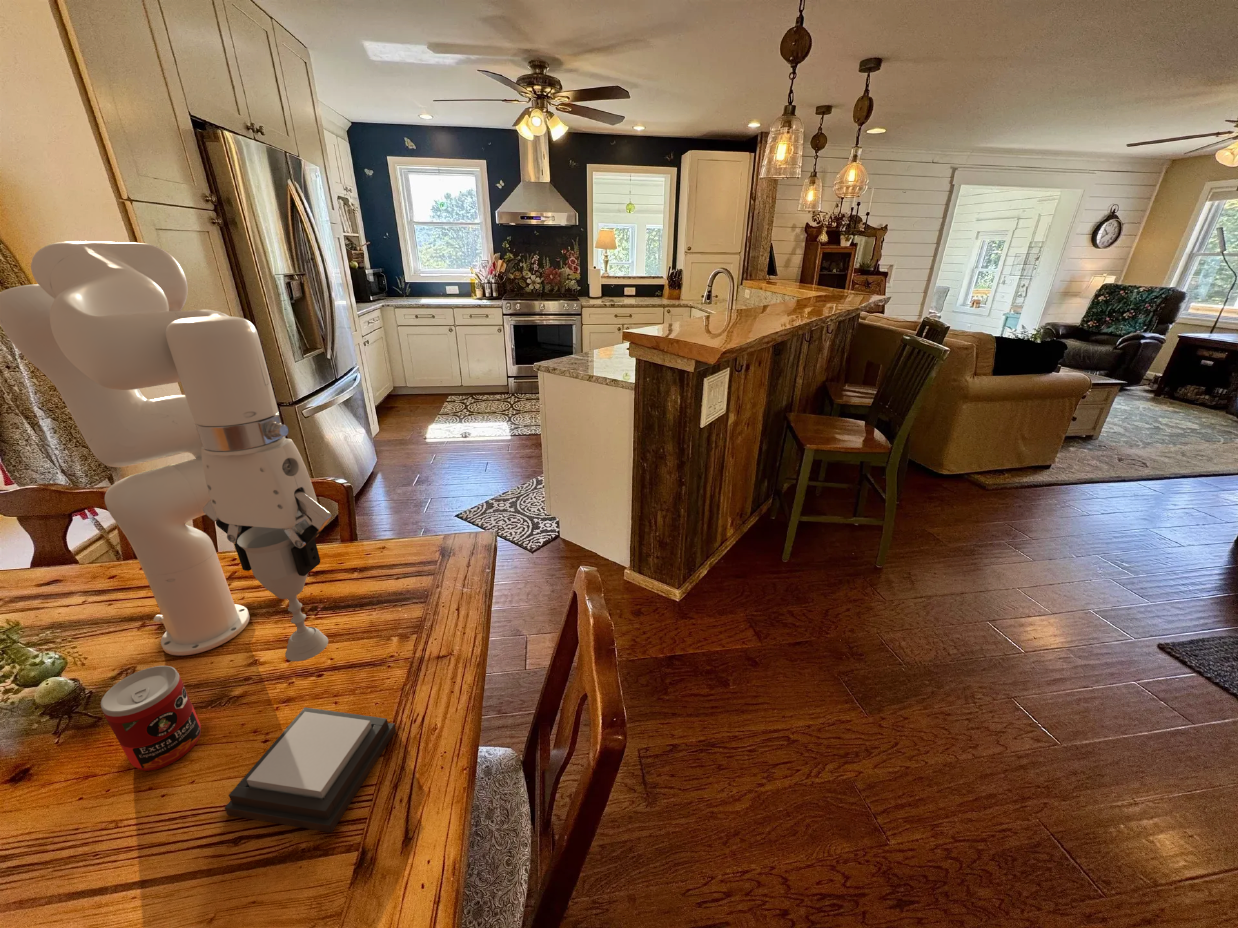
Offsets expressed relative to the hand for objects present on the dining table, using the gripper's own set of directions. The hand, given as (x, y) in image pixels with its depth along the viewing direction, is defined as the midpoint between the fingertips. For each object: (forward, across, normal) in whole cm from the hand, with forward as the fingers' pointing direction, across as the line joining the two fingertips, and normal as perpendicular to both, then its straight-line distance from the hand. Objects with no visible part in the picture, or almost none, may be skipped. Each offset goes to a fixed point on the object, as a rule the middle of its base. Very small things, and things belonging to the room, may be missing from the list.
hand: (282, 566), depth 62 cm
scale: (+28, -3, +6) cm, 29 cm away
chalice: (+13, 0, 0) cm, 13 cm away
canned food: (+28, +20, +6) cm, 35 cm away
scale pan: (+25, -3, +6) cm, 26 cm away
